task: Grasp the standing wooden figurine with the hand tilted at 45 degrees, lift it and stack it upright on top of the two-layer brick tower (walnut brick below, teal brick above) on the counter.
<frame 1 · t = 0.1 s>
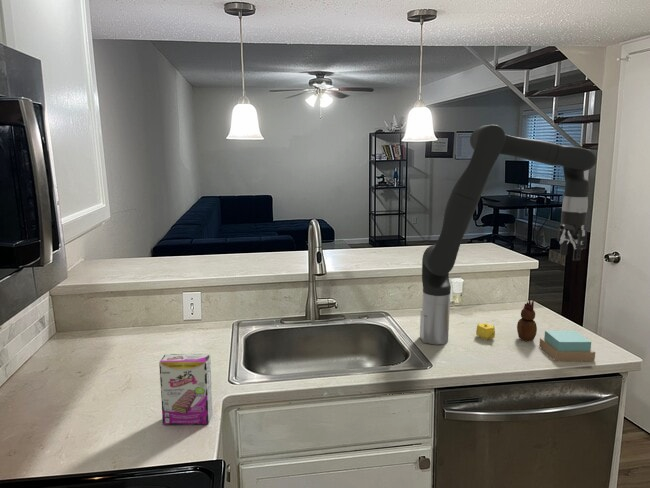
hand: (569, 257, 165), 29 cm above the worktop, tool pointing down, fingers open, 8 cm apart
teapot: (486, 338, 172), on the worktop
candy bar box: (188, 421, 119), on the worktop
wooden figurine: (525, 340, 170), on the worktop
tower base: (565, 353, 158), on the worktop
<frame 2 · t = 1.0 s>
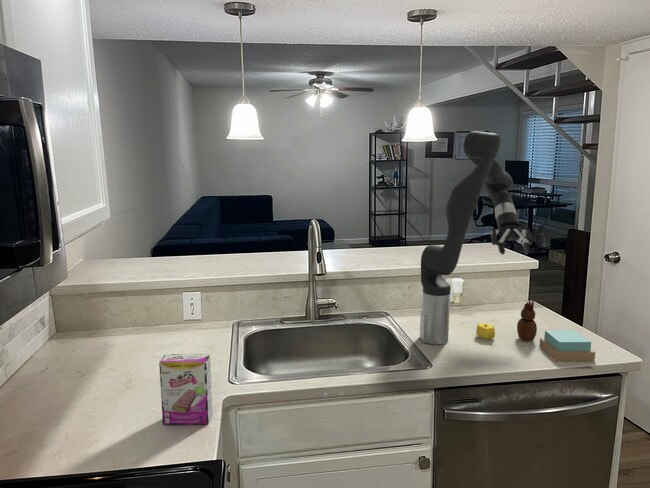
hand: (515, 253, 174), 29 cm above the worktop, tool tilted 45°, fingers open, 8 cm apart
nothing on the worktop moved.
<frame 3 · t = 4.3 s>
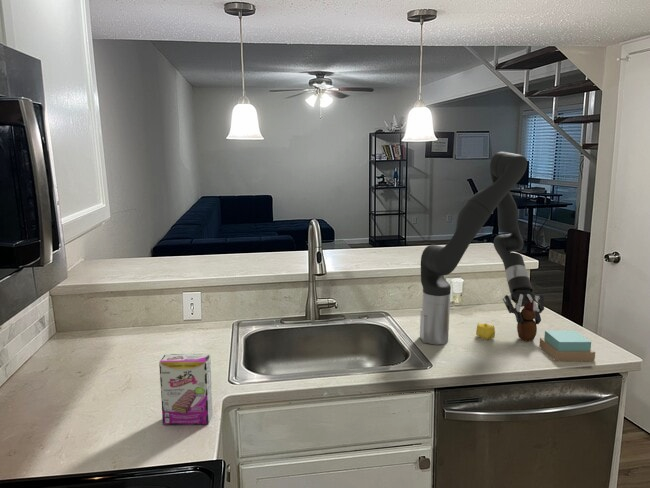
hand: (529, 323, 167), 7 cm above the worktop, tool tilted 45°, fingers closed on wooden figurine, 5 cm apart
wooden figurine: (525, 340, 170), on the worktop, touching gripper
everything else where it was.
when the fingers open (13 cm above the worktop, at t = 8.5 s): wooden figurine stays where it is, resting on tower base.
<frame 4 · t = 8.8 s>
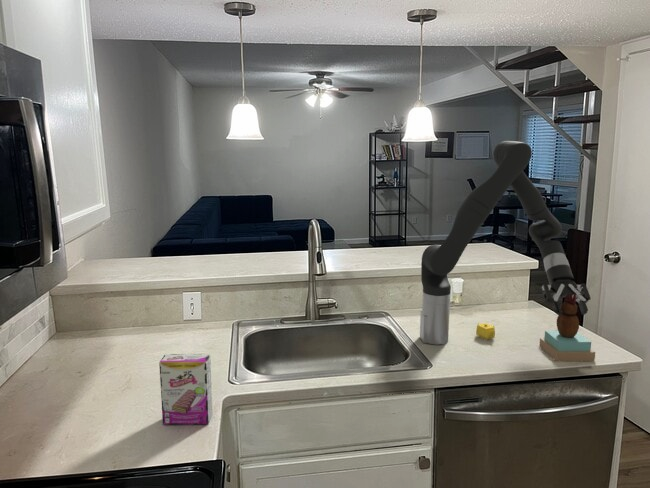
hand: (572, 313, 154), 14 cm above the worktop, tool tilted 45°, fingers open, 7 cm apart
wooden figurine: (566, 336, 157), point 6 cm above the worktop, touching tower base
everything else where it was.
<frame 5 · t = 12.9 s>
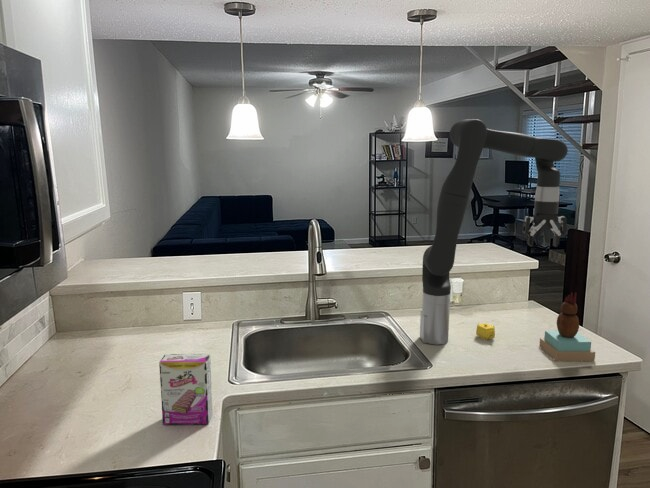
hand: (543, 246, 170), 32 cm above the worktop, tool pointing down, fingers open, 8 cm apart
nothing on the worktop moved.
at the end: wooden figurine inside the target area on the tower base (0.3 cm from its centre), point 5.8 cm above the tower base's base; wooden figurine tilted 0°; the gripper is holding nothing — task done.
